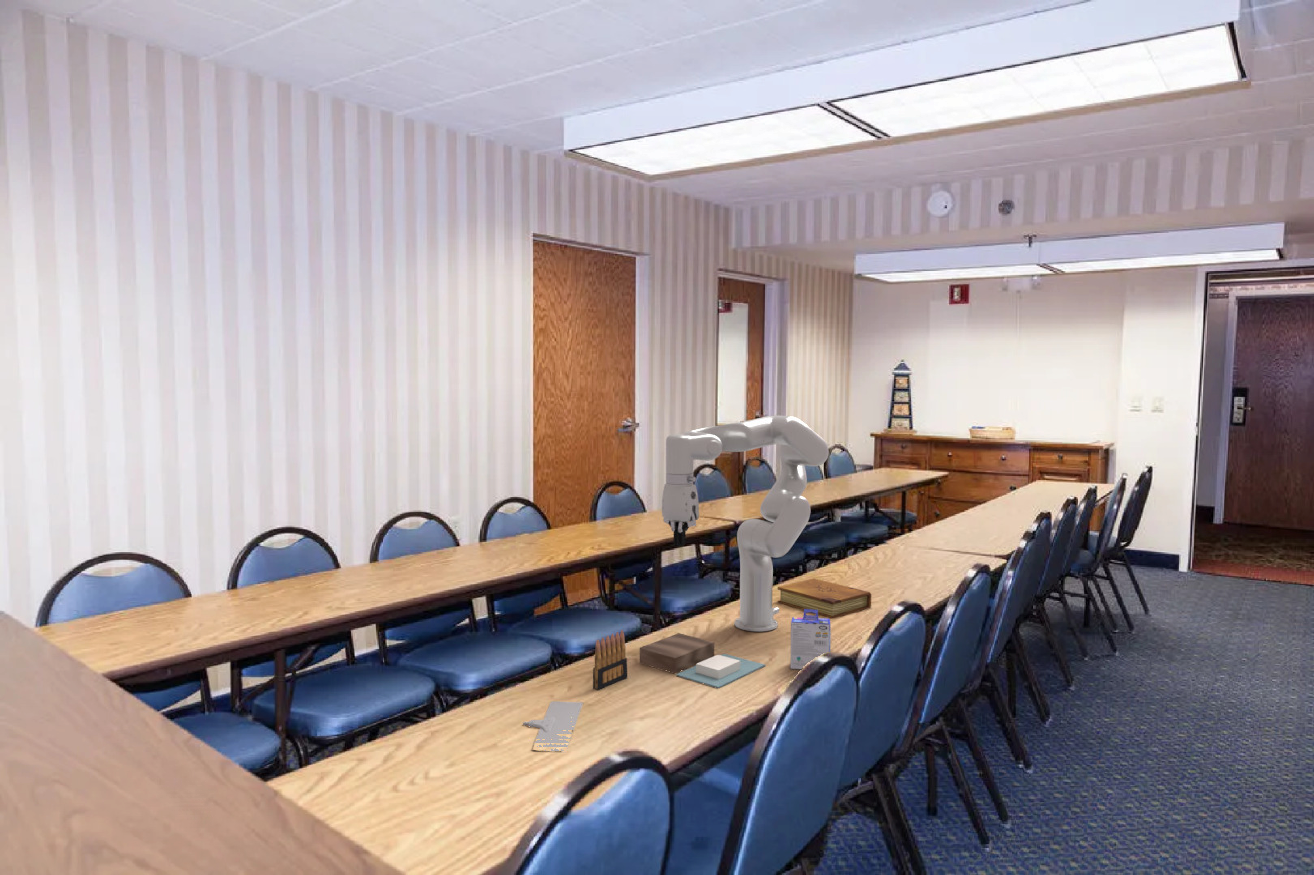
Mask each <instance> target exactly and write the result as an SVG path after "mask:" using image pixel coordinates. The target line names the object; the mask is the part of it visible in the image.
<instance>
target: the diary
mask: <svg viewBox="0 0 1314 875" xmlns="http://www.w3.org/2000/svg"><path fill="white" fill-rule="evenodd" d="M777 590H778V591H779V592H780V593H779V594H780V596H779V598H780V599H779V600H777V603H780V604H782V605H785V606H786V605H787V606H789V607H793V608H796V609H800V610H802V611H804V609H811V610H818V615H820V616H824V617H827V618H829V619H830V618H831V619H835V618H839V617H842V616H846V615H849V614H853V613H856V612H857V613H858V612H859V611H864V610H867V609H870V608H871V607H872V593H871V592H870V591H867V590H862V589H860V588H859V589H858V588H854V587H850V586H846V585H843V584H837V583H836V582H835V583H834V582H830V581H826V580H823V579H817V578H810V579H806V580H801V581H797V582H793V583H788V584H784V585H780V586H777Z"/></svg>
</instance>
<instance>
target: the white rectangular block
mask: <svg viewBox="0 0 1314 875" xmlns="http://www.w3.org/2000/svg"><path fill="white" fill-rule="evenodd" d="M721 655H722V654H717V655H714V657H711V658H709V659H706V660H704V661H702V662H699V663H697V664H696V665H695V666H696V673H700V674H703V675H706V676H710V677H713V678H716V679H720V678H722V677H725V676H727V675H729V674H731V673H733V672H736V671H738V670H740V661H739V660H736V659H732V658H729V657H725V656H721Z"/></svg>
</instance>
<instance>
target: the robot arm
mask: <svg viewBox="0 0 1314 875" xmlns="http://www.w3.org/2000/svg"><path fill="white" fill-rule="evenodd" d="M772 445H779V447H778V449H779V450H778V451H779V452H778V453H779V458H780V464H781V468H780V469H781V470H780V474H779V476H778V478H777V479H776V481H775V483H773V485H772V487H771V488H770V489H769V491H768V492H767V494H766V496H764V498H763V500H762V501H761V505H760V507H759V512H760V515H761V516H762V517H763V518H764V519H765V520H762V519H758V518H757V519H756V518H750V519H746V520H744V521H743V522H742V523H741V524H740V525H739V526H738V530H737V533H736V539H737V546H738V552H739V563H740V565H739V566H740V567H739V568H740V570H739V572H740V573H739V574H740V576H739V588H740V589H739V617H738V618H736V619H735V620H734V626H735V627H736V628H737V629H739V630H743V631H746V632H747V631H748V632H761V633H762V632H769V631H773V630H775V629H777V628H778V625H779V624H778V621H777V620H776V619H775V618H774V615H777V614H778V613H779V614H780V608H779V607H777V606H775V607H773V578H774V577H773V574H774V573H773V572H774V569H773V567H774V566H773V559H772V558H781V557H784V556H785V555H786V554H787V553H788V552H789V551H790V550H791V548H792V547H793V545H794V544H795V542H796V541H797V539H798V538H799V536H800V535H801V534H802V532H803V530H804V529H805V527H806V526H807V524H808V522H809V520H810V516H811V505H810V502H809V500H808V499H807V498H806V497H805V496H803V495H802V494H803V493H804V492H805V490H806V487H807V484H808V483H807V482H808V479H807V472H806V466H808V467H819V466H822V465H823V464H824V463H825V462H826V461H827V459H828V458H829V454H830V453H829V452H830V451H829V447H828V444H827V442H826V440H824V438H822V436H820V435H819V434H818V433H817V432H815V431H814V430H813V429H812V428H811V427H809V426H808V425H807V424H806V423H805V422H804V421H802V420H801V419H799V418H797V417H795V416H792V415H790V416H789V415H777V414H776V415H767V416H763V417H757V418H754V419H749V420H744V421H740V422H739V421H738V422H734V423H733V422H732V423H727V424H722V425H714V426H707V427H702V428H698V429H692V430H689V431H686V432H684V433H682V434H679V433H677V434H670V435H667V437H666V438H665V483H664V486H663V490H662V497H661V498H662V499H661V514H662V515H661V516H662V518H663V523H665V524H667V525H668V526H669V527H670V528H671V529H670V530H671V532H673V546H674V547H677V548H678V547H679V548H680V547H683V546H685V545H686V541H687V540H686V534H687V532H688V530H689V529H690V528H691V527H695V526H696V525H697V522H696V521H698V520H699V518H700V504H699V495H698V490H697V486H696V484H694V483H695V482H696V480H697V478H696V477H695V476H694V460H695V461H696V460H697V461H698V460H699V461H712V460H713V461H714V460H715V459H717V458H718V457H719V456H720V455H721V453H722V452H733V453H738V452H739V453H740V452H741V453H742V452H749V451H752V450H757V449H761V448H764V447H765V448H766V447H769V446H772Z"/></svg>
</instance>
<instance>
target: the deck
mask: <svg viewBox="0 0 1314 875" xmlns="http://www.w3.org/2000/svg"><path fill="white" fill-rule="evenodd" d="M714 656H715V641H710V640H707V639H704V638H700V637H695V636H691V635H688V634H684V633H679V632H678V633H676V634H673V635H670V636H667V637H664V638H662V639H659V640H657V641H654V642H651V643H648V644H646V645H642V646H640V647H639V664H642V665H646V666H648V667H651V666H653V667H652V668H655V669H658V668H659V669H658V670H661V669H662V670H661V671H665V670H667V671H666V672H668V671H670V672H669V673H671V672H673V673H672V674H675V673H676V674H678V673H680V671H681V670H683V671H685V670H687V668H688V669H689V667H690V668H692V667H694V666H696V664H697V663H699V662H702V661H704V660H706V659H709V658H711V657H714ZM691 666H692V667H691ZM681 672H682V671H681Z"/></svg>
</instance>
